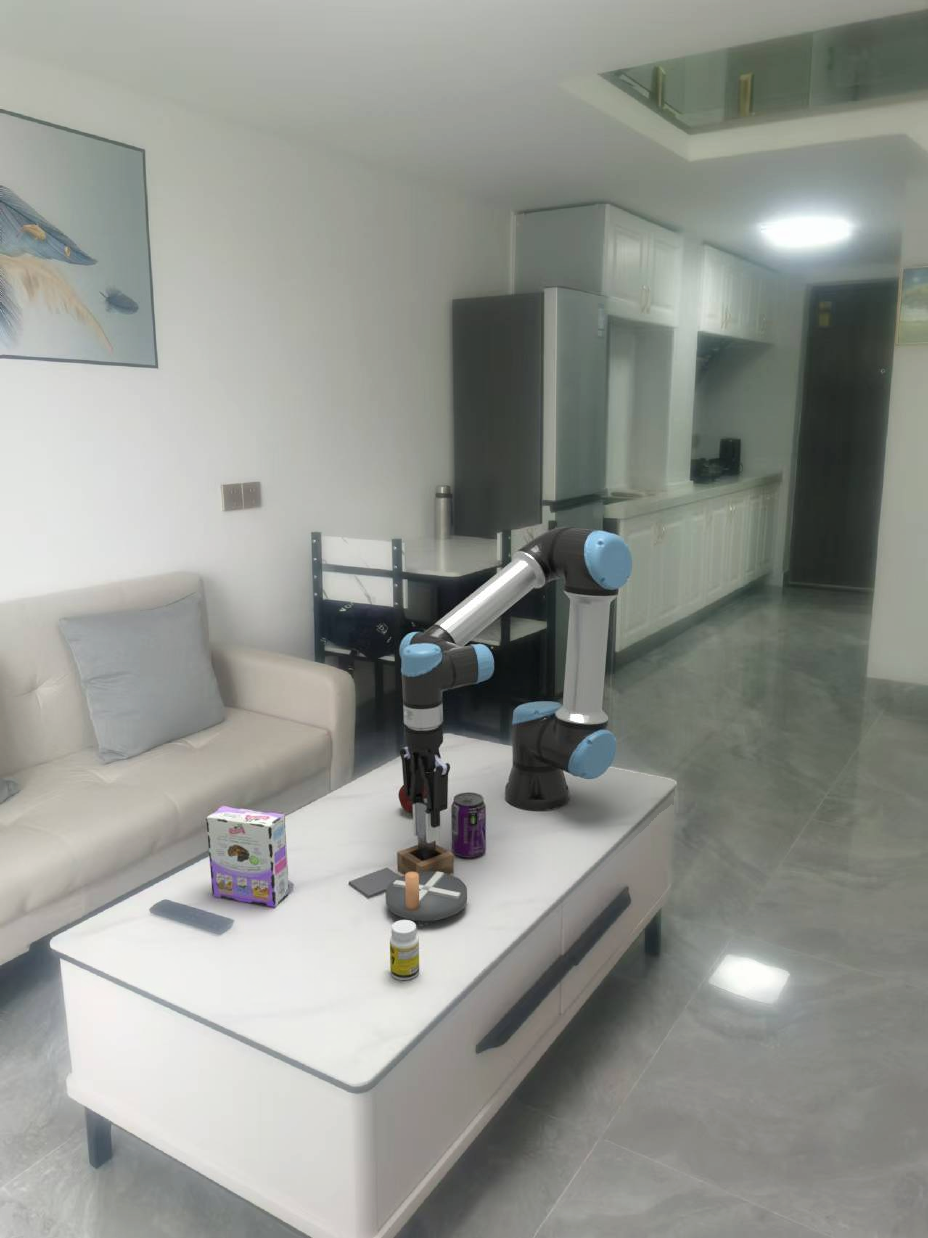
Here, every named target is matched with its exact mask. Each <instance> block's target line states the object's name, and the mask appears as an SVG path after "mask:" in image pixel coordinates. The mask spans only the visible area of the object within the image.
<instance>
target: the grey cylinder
mask: <svg viewBox="0 0 928 1238" xmlns="http://www.w3.org/2000/svg"><path fill="white" fill-rule="evenodd" d="M416 809H417V837H416V838H417V845H418V859H420V860H422V861H425V860H428V859H430V858H433V857H435V856H436V845H437V842H436V841H437V840H436V841H433V842H431V843H427V842H426V813H425V810H428V804H427V798H423V799H419V800H418V801H417V802H416Z"/></svg>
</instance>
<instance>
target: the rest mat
mask: <svg viewBox="0 0 928 1238" xmlns="http://www.w3.org/2000/svg"><path fill="white" fill-rule="evenodd" d="M399 877H401V875H399V874H398V873H397V872H395V871H393V870H392V869H390V868H389V867H385V868H382V869H379V870H376V871H373V872H371V873H368V874H366V875H362V876H360V877H358V878H355V879H351V880H349V881H348V885H349V886H350V887H352V888H353V889H354V890H356V891H358V892H359V893H360V894H361V895H362V896H364V897H366V898H367V899H371V898H374V897H377V896H379V895H383V894H384V893H386V889H387V887H388V885H389V884H390V883H391V882H392V881H394V880H395V879H397V878H399Z"/></svg>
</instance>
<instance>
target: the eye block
mask: <svg viewBox="0 0 928 1238" xmlns="http://www.w3.org/2000/svg"><path fill="white" fill-rule="evenodd" d="M454 854H455V853H453V852H450V851H448V850H447V849H446V848H443V847H442V846H439V845H438V844H436V856H435V857H433V858H430V859H428V860H425V861H422V860H420V859H418V844H415V845H413V846H410V847H407V848H404V849H402V850H399V851H397V852H396V859H397V860H396V861H397V864H396V865H397V871H398V872H399V873H401V875H405V874H406V873H408V872H423V871H434V872H437V871H438V872H443V873H447V874H450V875H452V874H454V872H455V869H454V868H455V867H454V866H455V864H454V861H455V859H454V858H455V857H454Z"/></svg>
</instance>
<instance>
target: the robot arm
mask: <svg viewBox="0 0 928 1238" xmlns="http://www.w3.org/2000/svg"><path fill="white" fill-rule="evenodd" d="M632 569H633V557H632V552H631V549H630V547H629V545H628V544H627V542H625V539H624V538H622V537H621V536H619V535H618V534H616V533H611V532H608V531H606V530H598V529H597V530H596V529H588V528H578V527H572V526H561V527H556V528H553V529H550V530H547V531H545V532H543V533H541V534H540V535H538V536H536V537H535V538H533V539H532V540H530V541H529V542H527V543H526V544H525V545H523V546H522V547H521V548H520V549H518V550H517V551H515V552H514V554H512V557H511V562H509V563H508V564H506V566H504V567H502V568H501V570H499V571H498V572H497V573H496V574H495V575H493V576H492V577H491V578H490V579H489V580H487V581H486V582H485V583H484V584H482V585H481V586H479V587H478V588H477V589H476V590H475V591H473V593H470V595H469V596H467V597H465V599H464V600H462V601H461V602H460V603H458V604H457V605H456V606H455V607H454V608H453V609H452V610H450V611H449V612H447V613H446V614H445V615H444V616H443V617H441V618H440V619H439V620H437V622H435V623H434V624H433V625H432V626H430V627H429V628H428V629H426V630H425V631H423V632H422V631H412V632H410V633H407V634H406V635H405V636H404V637H403V638H402V640H401V641H400V644H399V657H400V660H401V668H400V672H401V681H402V683H401V685H402V689H401V690H402V704H403V705H402V706H403V707H402V708H403V724H404V726H403V740H404V741H403V742H404V745H405V747H402V748H400V749H399V755H400V758H401V767H402V768H401V769H402V780H403V785H404V795H405V797H409V798H410V802H411V803H412V814H411V815H412V819H413V820H412V825H413V826H412V827H413V828H412V829H413V830H412V831H413V835H414V836H415V837H416V836H417V809H416V802H417V801H418V800H419V799H423V798H426V797H427V804H428V810H425V813H426V842H427V843H431V842H433V841H439V840H440V826H441V812H442V811H445V810H448V803H449V802H448V798H449V797H448V796H449V772H450V771H451V765H450V763H449V762H446V763H445V762H444V761H442V758H441V753H440V747H441V746H442V744H443V742H444V725H443V724H442V723H443V722H444V711H443V709H444V708H443V692H444V691H449V690H454V689H459V688H461V687H466V686H470V685H477V684H479V683H480V682H484V681H487V680H489V679H490V678H491V677H492V676H493V675H494V671H495V660H494V655H493V653H492V651H491V650H490V649H489V647H488V646H487V645H485V644H483V643H478V644H473V643H471V644H468V643H470V641H472V640H473V639H474V638H475V637H476V636H478V635H479V634H480V633H481V632H482V631H484V630H485V629H486V628H488V626H490V625H491V624H492V623H493V622H494V621H495V620H497V619H498V618H500V616H502V615H503V614H504V613H505V612H506V611H507V610H509V609H510V608H511V607H512V606H513V605H515V604H516V603H517V602H518V601H520V600H521V599H522V598H523V597H525V596H526V595H527V594H528V593H529V592H531V591H532V590H533V589H540V588H542V587H544V586H545V585H546V584H548V583H549V582H552V581H555V580H564V585H563V593H564V594H565V595H566V596H567V598H569V614H568V615H569V617H568V625H567V626H568V629H567V639H566V641H567V644H566V654H565V655H566V657H565V668H564V685H563V697H562V698H563V699H562V703H560V702H557V701H547V700H546V701H545V700H543V701H533V702H526V703H523V704H519V705H518V706H517V707H516V708H514V710H513V713H512V714H513V715H512V721H511V729H512V730H511V731H512V734H511V735H512V736H511V737H512V738H511V739H512V741H511V744H512V745H511V747H512V749H511V750H512V766H511V770H510V773H509V776H508V781H507V782H506V785H505V786H504V799H505V801H506V802H507V803H509V804H510V805H511V806H513V807H515V808H519V809H522V810H528V811H550V810H551V811H552V810H555V809H559V808H561V807H563V806H565V805H566V804H567V803H568V802H569V799H570V790H569V785H568V784H567V780H566V776H565V773H564V772H566V773H568V774H570V775H571V776H574V777H579V778H581V779H584V780H593V779H597V778H599V777H601V776H602V775H604V774H605V773H606V772H607V771H608V769H609V768H610V767H611V766H612V764H613V762H614V760H615V757H616V755H617V750H618V740H617V738H616V737H615V735H614V734H613V733H612V731H610V730H608V725H609V716H608V715H607V714H606V712H604V710H603V699H604V687H605V674H606V662H607V661H606V659H607V650H608V649H607V648H608V636H609V623H610V611H611V603H612V601H614V600H615V599H616V598H617V597H618V595H619V589H620V588H622V587H624V586H625V585H626V584H627V583H628V580H627V579H629V578H630V576H631V574H632ZM467 644H468V645H467ZM424 782H425V789H426V797H425V796H424V795H423V792H424ZM409 788H411V789H410V790H409Z"/></svg>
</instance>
